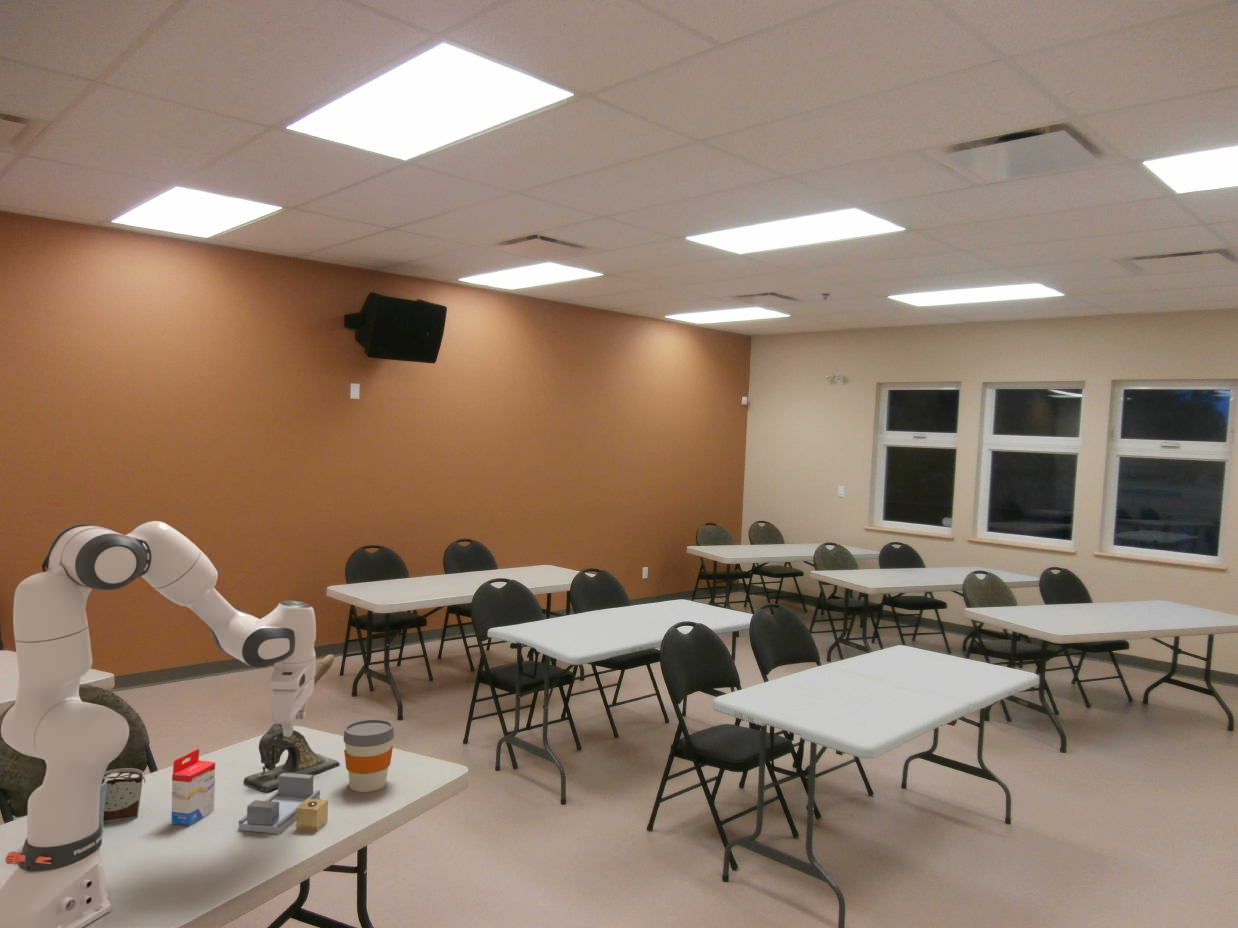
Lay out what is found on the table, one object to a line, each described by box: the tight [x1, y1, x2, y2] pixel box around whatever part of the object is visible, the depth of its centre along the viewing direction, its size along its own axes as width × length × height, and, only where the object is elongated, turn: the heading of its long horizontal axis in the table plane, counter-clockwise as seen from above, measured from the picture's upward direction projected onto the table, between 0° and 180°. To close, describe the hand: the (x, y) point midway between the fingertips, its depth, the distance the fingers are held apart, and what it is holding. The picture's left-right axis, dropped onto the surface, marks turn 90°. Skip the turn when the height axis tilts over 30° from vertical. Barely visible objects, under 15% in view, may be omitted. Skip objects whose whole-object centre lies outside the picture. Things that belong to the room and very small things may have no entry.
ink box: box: [171, 748, 216, 827], centre depth 184 cm, size 8×5×15 cm, turn 168°
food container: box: [103, 767, 147, 823], centre depth 184 cm, size 12×6×10 cm, turn 113°
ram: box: [246, 799, 279, 826], centre depth 180 cm, size 4×6×4 cm
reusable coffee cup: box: [342, 718, 395, 793], centre depth 204 cm, size 12×12×15 cm
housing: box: [295, 799, 329, 832], centre depth 181 cm, size 5×5×5 cm
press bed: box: [238, 773, 321, 835], centre depth 186 cm, size 18×10×6 cm, turn 173°
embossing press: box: [243, 653, 341, 792], centre depth 209 cm, size 11×24×30 cm, turn 145°
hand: (294, 726), depth 184 cm, fingers open, 8 cm apart
